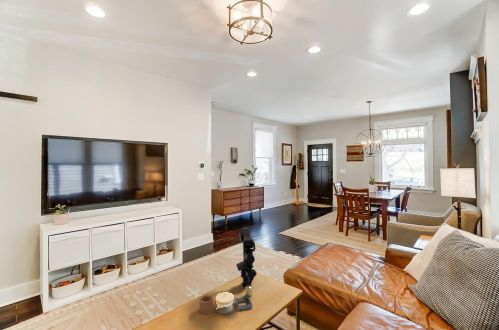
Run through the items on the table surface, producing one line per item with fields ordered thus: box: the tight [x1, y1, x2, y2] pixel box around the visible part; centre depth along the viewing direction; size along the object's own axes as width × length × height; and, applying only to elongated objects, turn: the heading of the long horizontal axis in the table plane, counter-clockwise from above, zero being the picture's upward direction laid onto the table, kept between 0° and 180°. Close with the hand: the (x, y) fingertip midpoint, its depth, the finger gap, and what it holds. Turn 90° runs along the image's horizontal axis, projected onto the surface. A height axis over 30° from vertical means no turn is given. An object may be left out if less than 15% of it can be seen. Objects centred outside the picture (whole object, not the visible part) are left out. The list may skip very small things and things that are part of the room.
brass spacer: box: [244, 285, 253, 298], centre depth 159 cm, size 5×5×6 cm
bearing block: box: [234, 296, 253, 312], centre depth 148 cm, size 9×9×2 cm
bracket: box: [198, 294, 217, 315], centre depth 146 cm, size 18×8×7 cm, turn 122°
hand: (248, 280), depth 159 cm, fingers open, 9 cm apart
